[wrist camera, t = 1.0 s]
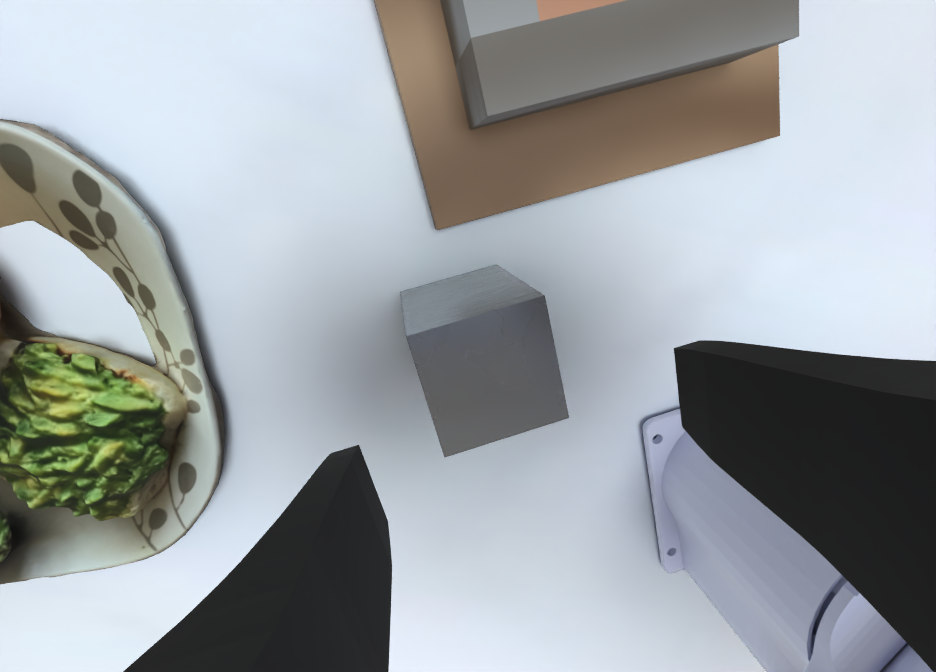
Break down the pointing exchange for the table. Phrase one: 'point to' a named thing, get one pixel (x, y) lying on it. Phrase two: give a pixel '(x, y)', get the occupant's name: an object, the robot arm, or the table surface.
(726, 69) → the well board
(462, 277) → the steel block
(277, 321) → the table surface
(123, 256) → the salad plate
